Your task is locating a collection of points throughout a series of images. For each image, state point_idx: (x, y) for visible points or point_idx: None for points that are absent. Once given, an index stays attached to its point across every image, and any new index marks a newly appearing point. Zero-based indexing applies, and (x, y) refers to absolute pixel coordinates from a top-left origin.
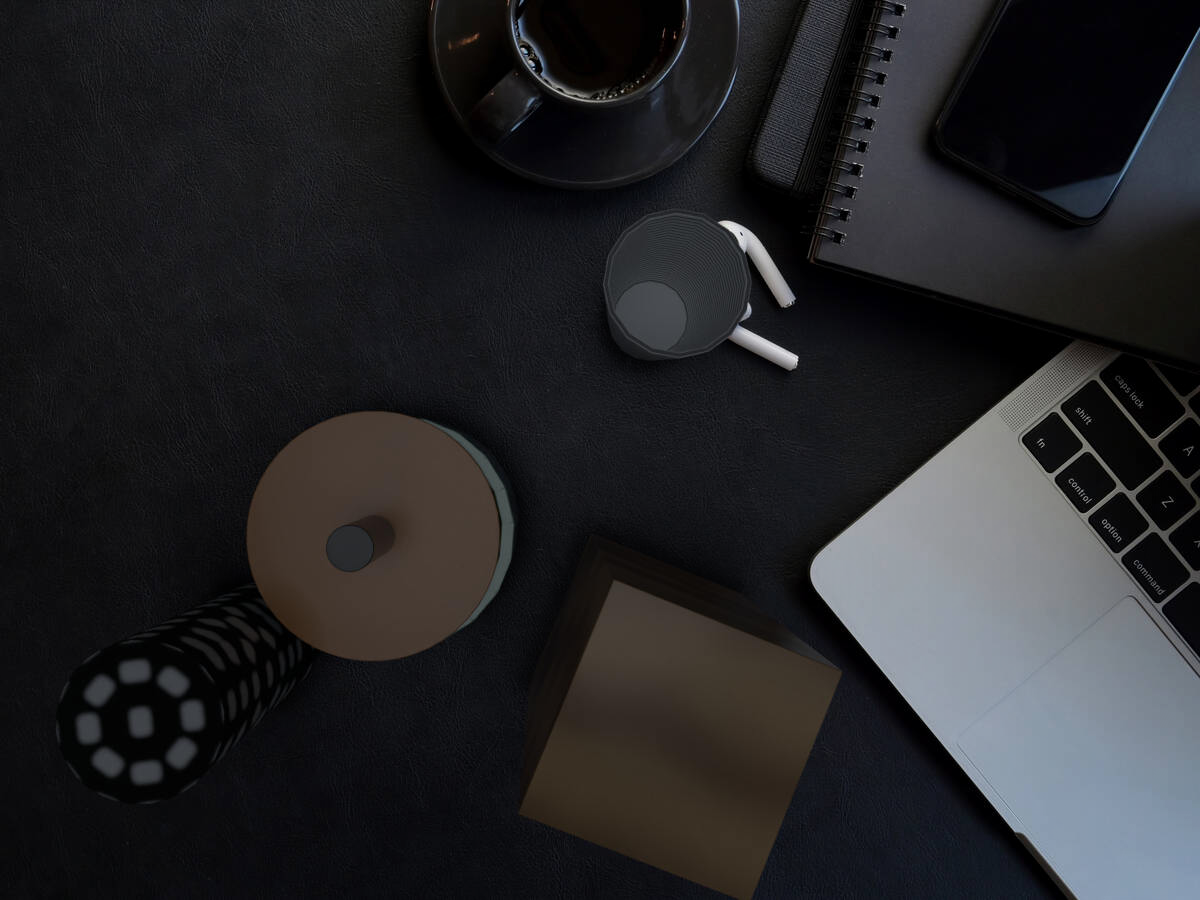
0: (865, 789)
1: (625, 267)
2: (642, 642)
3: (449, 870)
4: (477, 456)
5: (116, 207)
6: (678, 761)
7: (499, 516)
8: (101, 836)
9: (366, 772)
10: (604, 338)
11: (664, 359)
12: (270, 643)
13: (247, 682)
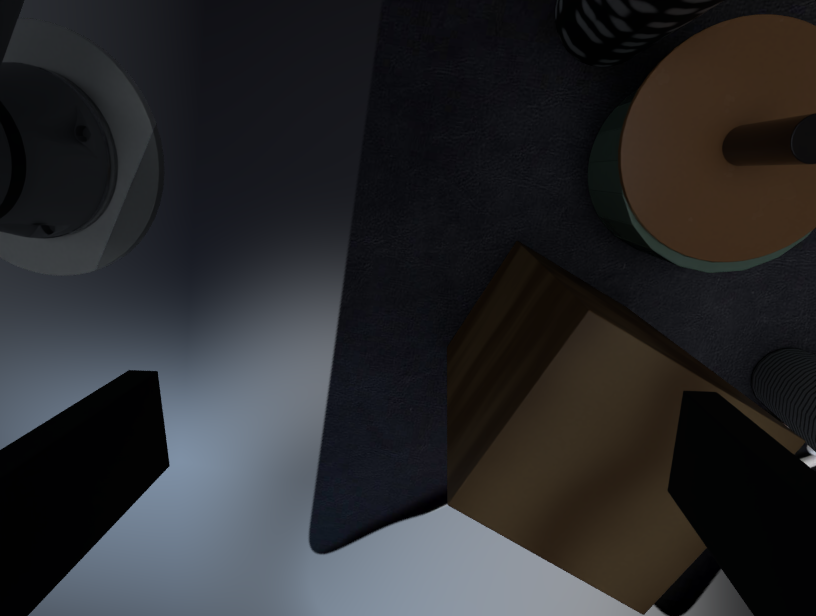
0: (390, 467)
1: None
2: None
3: (377, 152)
4: (780, 250)
5: None
6: (600, 468)
7: None
8: None
9: (471, 91)
10: (780, 342)
11: (807, 414)
12: (677, 27)
13: (702, 3)
